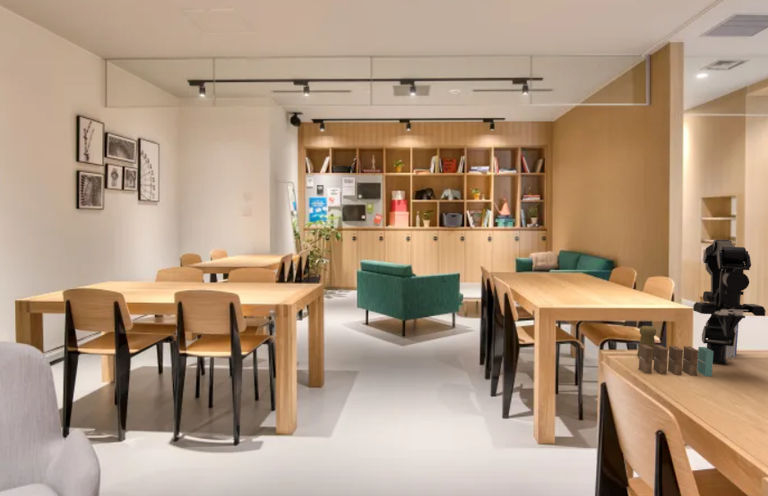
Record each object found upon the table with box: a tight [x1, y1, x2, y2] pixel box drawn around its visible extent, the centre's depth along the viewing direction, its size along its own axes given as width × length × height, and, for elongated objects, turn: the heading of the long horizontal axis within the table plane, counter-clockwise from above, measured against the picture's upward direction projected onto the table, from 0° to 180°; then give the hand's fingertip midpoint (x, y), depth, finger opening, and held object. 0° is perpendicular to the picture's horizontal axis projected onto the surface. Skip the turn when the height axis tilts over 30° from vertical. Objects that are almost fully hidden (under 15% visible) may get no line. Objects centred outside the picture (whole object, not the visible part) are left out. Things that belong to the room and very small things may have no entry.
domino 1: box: [638, 344, 653, 375], centre depth 167 cm, size 2×5×8 cm, turn 174°
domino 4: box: [682, 345, 698, 377], centre depth 166 cm, size 2×5×8 cm, turn 174°
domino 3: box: [667, 345, 684, 376], centre depth 166 cm, size 2×5×8 cm, turn 174°
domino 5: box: [697, 346, 714, 377], centre depth 166 cm, size 2×5×8 cm, turn 175°
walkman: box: [726, 323, 739, 359], centre depth 187 cm, size 8×3×12 cm, turn 141°
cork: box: [636, 325, 657, 361], centre depth 183 cm, size 6×6×11 cm
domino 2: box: [652, 344, 669, 375], centre depth 167 cm, size 2×5×8 cm, turn 175°
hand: (726, 336), depth 164 cm, fingers closed
